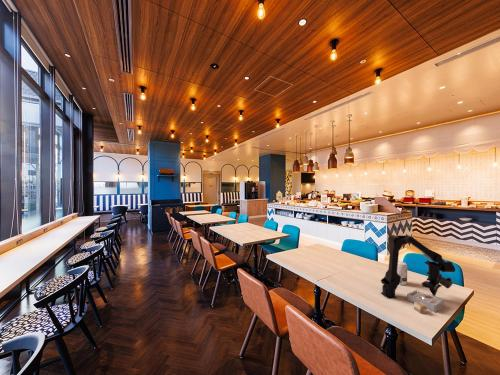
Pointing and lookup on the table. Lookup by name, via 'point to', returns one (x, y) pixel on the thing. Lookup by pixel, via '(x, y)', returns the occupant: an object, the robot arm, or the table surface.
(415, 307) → the pedestal
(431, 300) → the disc
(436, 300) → the tray
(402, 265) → the supplement can
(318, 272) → the table surface
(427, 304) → the housing
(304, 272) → the table surface
